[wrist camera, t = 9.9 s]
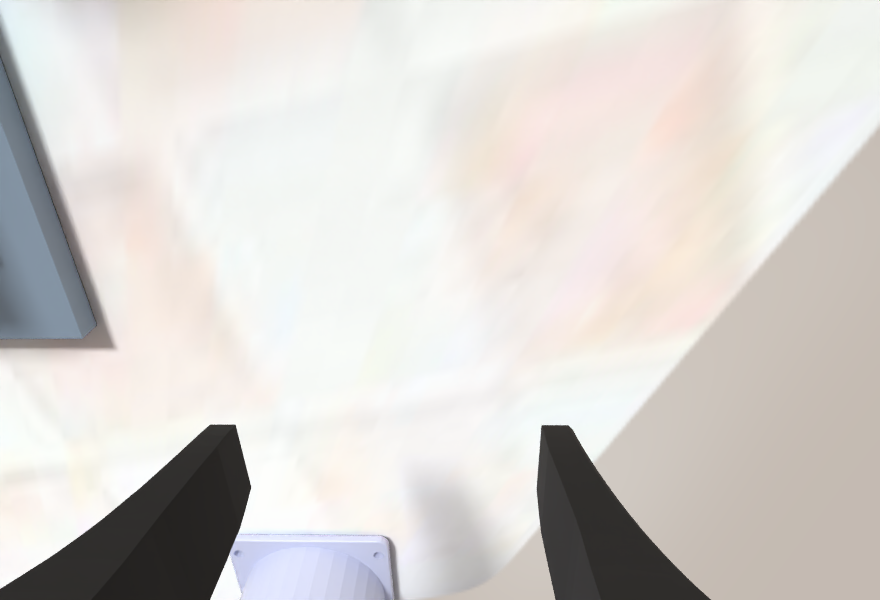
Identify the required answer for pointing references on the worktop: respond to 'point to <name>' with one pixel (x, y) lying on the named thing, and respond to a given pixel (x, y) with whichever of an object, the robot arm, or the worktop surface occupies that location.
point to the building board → (33, 243)
